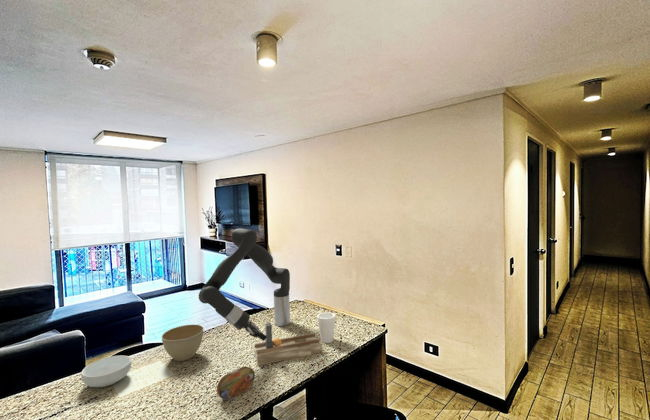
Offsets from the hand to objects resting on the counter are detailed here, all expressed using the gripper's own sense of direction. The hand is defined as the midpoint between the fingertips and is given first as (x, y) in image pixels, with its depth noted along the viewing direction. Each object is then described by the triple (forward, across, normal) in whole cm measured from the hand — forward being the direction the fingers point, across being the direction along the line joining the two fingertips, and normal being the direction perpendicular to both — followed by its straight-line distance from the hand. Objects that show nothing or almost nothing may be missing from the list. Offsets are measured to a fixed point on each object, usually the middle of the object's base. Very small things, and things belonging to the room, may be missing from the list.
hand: (264, 338), depth 142 cm
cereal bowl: (-39, +6, +52) cm, 65 cm away
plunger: (+4, 0, +2) cm, 5 cm away
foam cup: (+29, +5, -17) cm, 34 cm away
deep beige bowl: (-20, +16, +32) cm, 41 cm away
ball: (+6, 0, -2) cm, 6 cm away
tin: (-4, -23, +16) cm, 29 cm away
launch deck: (+14, 0, -1) cm, 14 cm away
